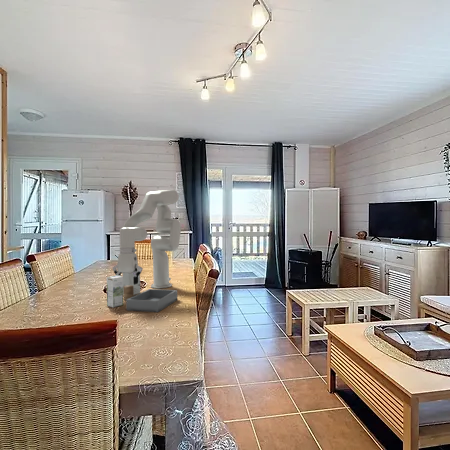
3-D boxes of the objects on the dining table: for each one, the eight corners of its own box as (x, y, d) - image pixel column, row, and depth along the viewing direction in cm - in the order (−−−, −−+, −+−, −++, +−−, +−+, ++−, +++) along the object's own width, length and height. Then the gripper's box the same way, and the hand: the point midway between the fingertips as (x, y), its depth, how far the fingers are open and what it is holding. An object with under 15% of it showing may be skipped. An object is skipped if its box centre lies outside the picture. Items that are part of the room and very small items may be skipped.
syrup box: (117, 303, 162) (116, 274, 161) (124, 305, 158) (123, 276, 158) (106, 306, 157) (106, 276, 157) (113, 308, 154) (112, 277, 153)
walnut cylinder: (127, 298, 172) (127, 285, 172) (135, 298, 171) (135, 285, 171) (122, 300, 167) (121, 287, 167) (130, 300, 166) (130, 287, 166)
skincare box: (130, 296, 176) (129, 269, 176) (122, 295, 179) (121, 268, 179) (141, 292, 183) (140, 267, 183) (133, 291, 186) (132, 266, 186)
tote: (149, 298, 170) (149, 289, 170) (177, 299, 166) (177, 290, 166) (126, 310, 149) (126, 299, 149) (157, 312, 145) (157, 301, 145)
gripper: (145, 250, 170) (145, 283, 170) (117, 250, 174) (117, 281, 174) (138, 252, 162) (138, 285, 162) (108, 251, 167) (108, 284, 167)
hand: (127, 283), depth 168 cm, fingers open, 9 cm apart
